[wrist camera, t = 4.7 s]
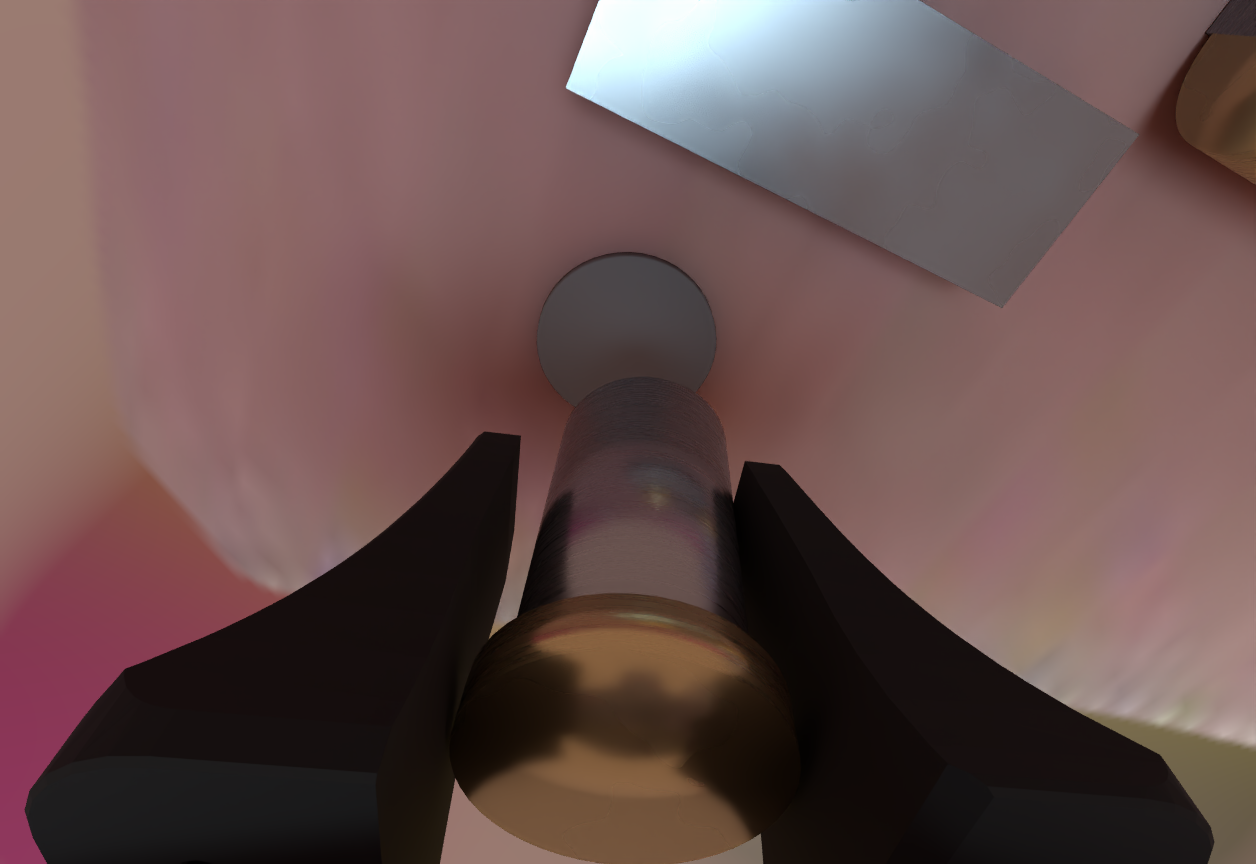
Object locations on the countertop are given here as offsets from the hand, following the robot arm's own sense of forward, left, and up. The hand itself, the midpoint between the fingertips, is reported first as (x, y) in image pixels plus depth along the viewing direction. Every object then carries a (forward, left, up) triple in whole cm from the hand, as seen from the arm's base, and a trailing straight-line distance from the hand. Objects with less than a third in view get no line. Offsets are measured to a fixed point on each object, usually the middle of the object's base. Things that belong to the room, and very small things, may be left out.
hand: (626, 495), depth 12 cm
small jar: (0, 0, -2) cm, 2 cm away
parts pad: (0, 0, -6) cm, 6 cm away
